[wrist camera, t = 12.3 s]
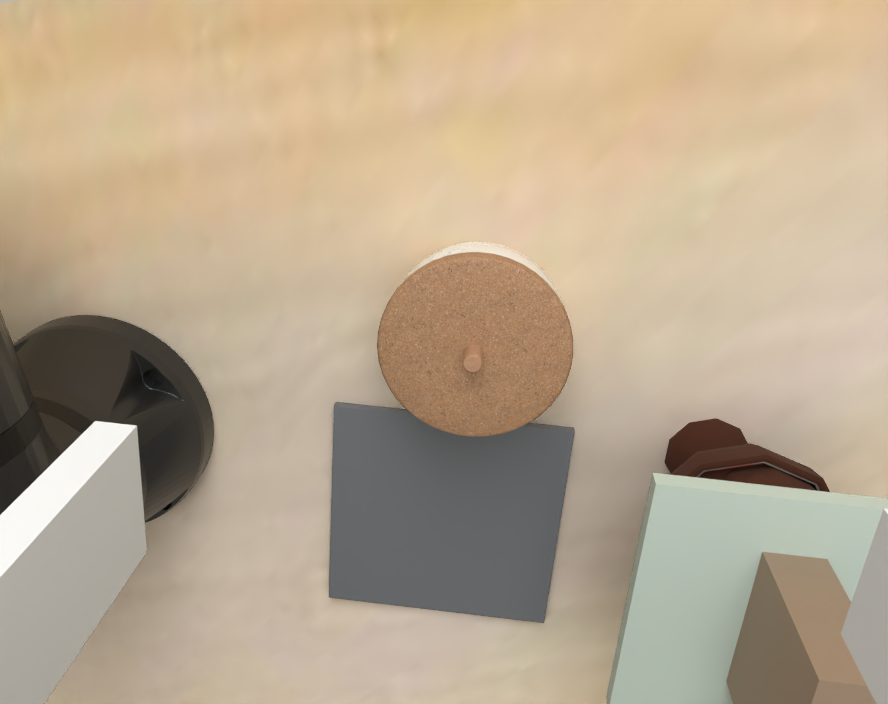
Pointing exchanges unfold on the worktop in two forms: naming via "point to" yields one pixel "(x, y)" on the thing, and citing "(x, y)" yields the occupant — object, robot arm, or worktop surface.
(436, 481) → the square tray
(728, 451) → the ice cream bowl
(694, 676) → the board
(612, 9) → the worktop surface
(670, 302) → the worktop surface
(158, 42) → the worktop surface
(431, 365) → the lidded jar
